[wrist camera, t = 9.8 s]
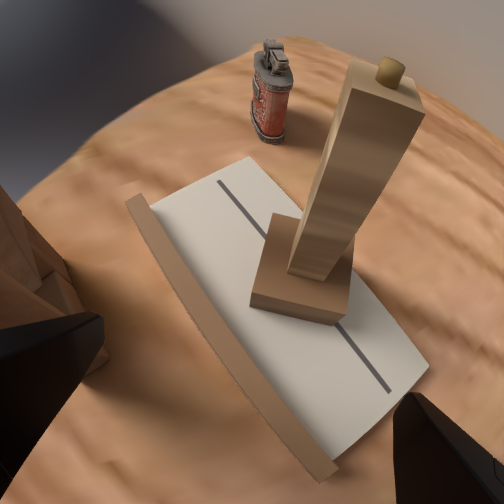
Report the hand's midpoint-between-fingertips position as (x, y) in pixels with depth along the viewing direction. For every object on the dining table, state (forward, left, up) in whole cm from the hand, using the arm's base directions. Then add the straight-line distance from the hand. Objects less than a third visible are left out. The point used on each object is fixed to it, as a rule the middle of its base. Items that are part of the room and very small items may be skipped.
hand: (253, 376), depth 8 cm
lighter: (+21, -18, -14) cm, 31 cm away
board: (+4, -6, -14) cm, 15 cm away
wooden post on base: (+4, -8, -12) cm, 15 cm away
